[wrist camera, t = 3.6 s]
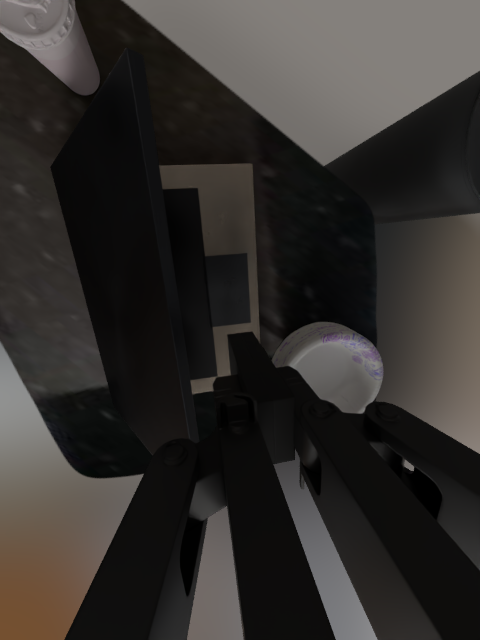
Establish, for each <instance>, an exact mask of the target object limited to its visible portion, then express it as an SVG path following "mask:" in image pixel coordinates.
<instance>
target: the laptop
mask: <svg viewBox="0 0 480 640" xmlns="http://www.w3.org/2000/svg"><path fill="white" fill-rule="evenodd" d="M159 168H160V175H161V182H162V189H163V196H164V202H165V209H166V216H167V223H168V230H169V237H170V244H171V250H172V257H173V264H174V271H175V278H176V285H177V292H178V298H179V305H180V312H181V319H182V326H183V333H184V340H185V347H186V353H187V360H188V367H189V374H190V381H191V388H192V394H195V393H202V392H208V391H213V382H214V381H215V379H216V377H222V376H228V375H231V373H230V362H229V350H228V339H227V334H235V333H243V332H251V331H252V332H253V333H254V335H255V336H256V338H257V339H258V341H259V342H260V325H259V302H258V279H257V255H256V232H255V209H254V186H253V164H252V163H250V164H209V165H168V166H159Z"/></svg>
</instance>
